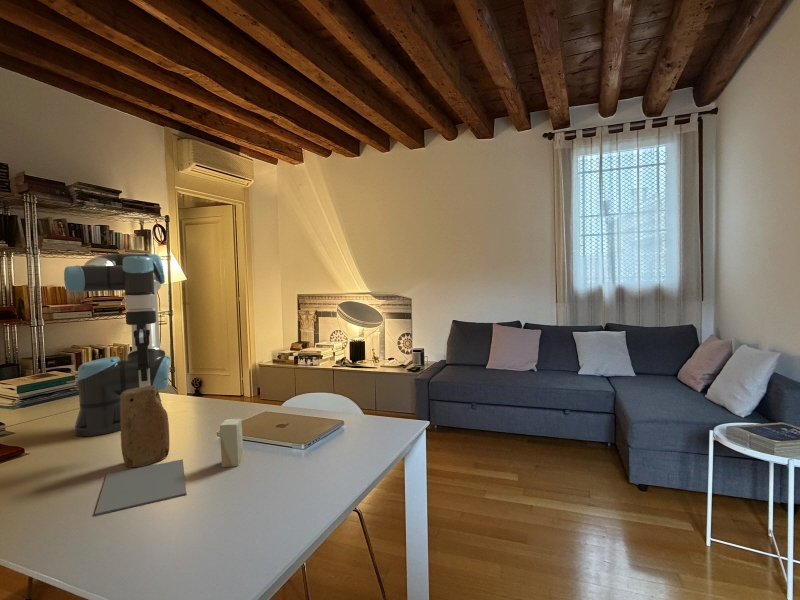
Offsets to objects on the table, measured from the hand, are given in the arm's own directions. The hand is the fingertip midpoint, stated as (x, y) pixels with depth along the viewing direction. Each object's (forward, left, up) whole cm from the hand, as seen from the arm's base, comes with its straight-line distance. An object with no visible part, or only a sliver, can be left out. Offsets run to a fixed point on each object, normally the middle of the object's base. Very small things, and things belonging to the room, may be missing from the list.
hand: (145, 391), depth 127 cm
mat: (+27, 0, -17) cm, 32 cm away
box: (+25, +20, -17) cm, 36 cm away
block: (+11, 0, -17) cm, 20 cm away
